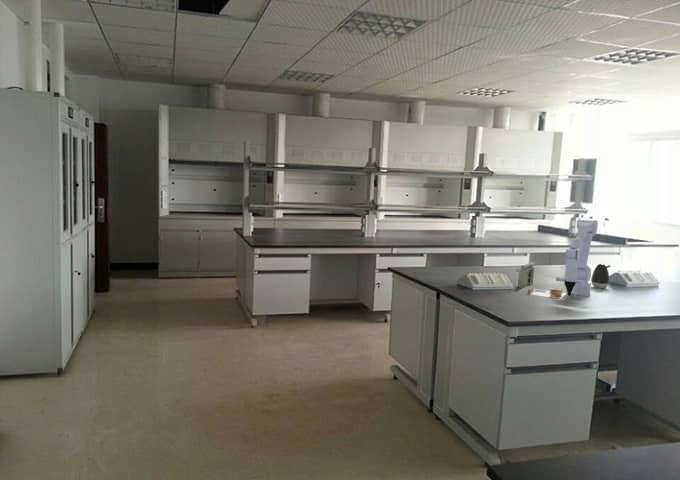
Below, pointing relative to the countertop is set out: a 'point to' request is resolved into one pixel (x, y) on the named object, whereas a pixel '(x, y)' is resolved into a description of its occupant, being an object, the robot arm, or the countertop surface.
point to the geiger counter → (526, 275)
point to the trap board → (546, 294)
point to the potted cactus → (600, 276)
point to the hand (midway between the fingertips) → (569, 295)
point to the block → (556, 292)
